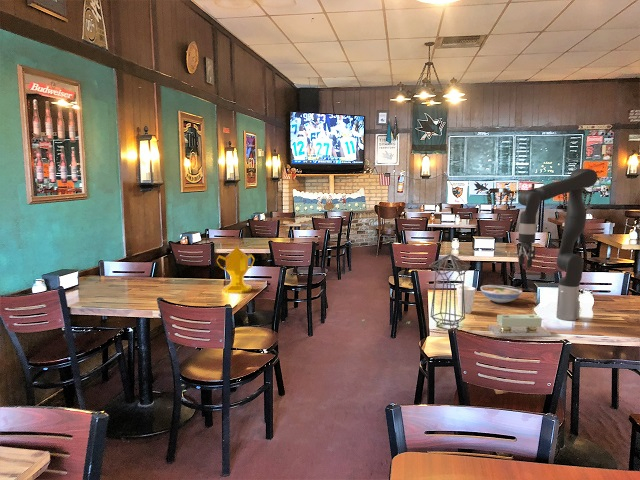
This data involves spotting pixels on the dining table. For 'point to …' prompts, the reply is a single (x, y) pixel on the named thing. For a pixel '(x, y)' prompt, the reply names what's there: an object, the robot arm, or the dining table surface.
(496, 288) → the ramen bowl
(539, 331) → the board with brass pegs
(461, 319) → the geometric lantern
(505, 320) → the bar
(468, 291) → the foam cup
